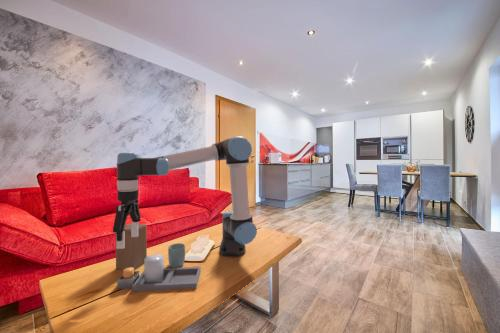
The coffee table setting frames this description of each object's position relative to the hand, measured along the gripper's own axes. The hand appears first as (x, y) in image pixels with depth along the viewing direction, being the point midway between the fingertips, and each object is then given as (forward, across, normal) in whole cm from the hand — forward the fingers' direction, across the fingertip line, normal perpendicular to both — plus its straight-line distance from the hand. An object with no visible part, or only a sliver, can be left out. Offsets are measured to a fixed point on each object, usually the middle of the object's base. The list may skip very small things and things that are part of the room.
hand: (128, 242), depth 88 cm
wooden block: (+19, -17, -6) cm, 26 cm away
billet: (+18, -1, +10) cm, 20 cm away
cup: (+19, -15, +16) cm, 29 cm away
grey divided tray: (+18, -1, +16) cm, 25 cm away
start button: (+16, 0, 0) cm, 16 cm away
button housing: (+18, 0, 0) cm, 18 cm away
